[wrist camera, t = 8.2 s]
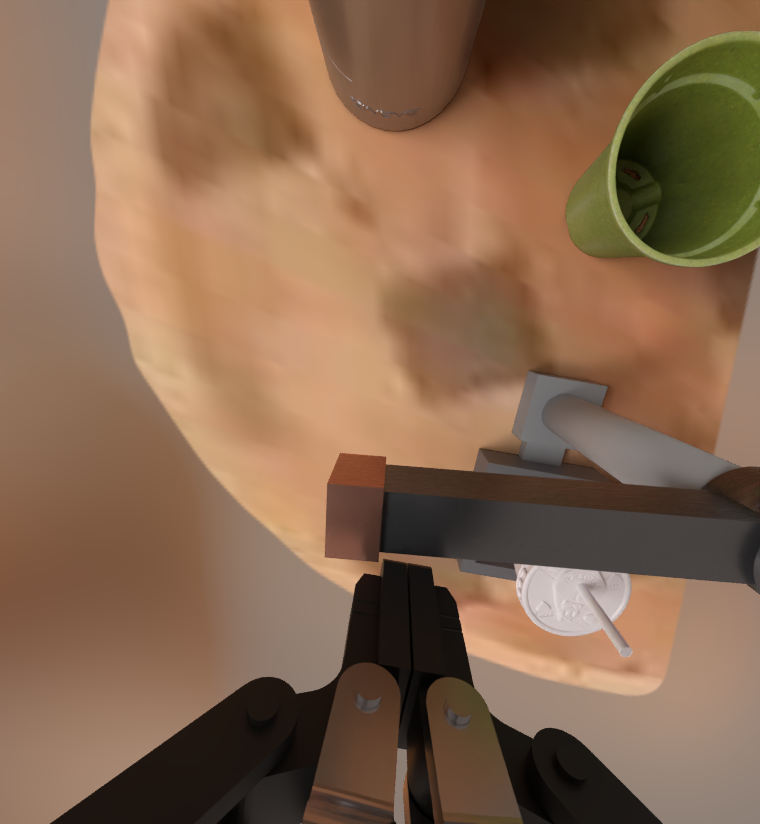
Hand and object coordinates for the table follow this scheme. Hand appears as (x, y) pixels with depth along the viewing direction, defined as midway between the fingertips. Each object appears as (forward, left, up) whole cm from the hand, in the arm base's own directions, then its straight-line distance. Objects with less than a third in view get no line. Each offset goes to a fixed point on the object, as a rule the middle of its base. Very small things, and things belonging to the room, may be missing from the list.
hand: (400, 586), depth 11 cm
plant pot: (-17, +12, -19) cm, 28 cm away
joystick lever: (-3, +5, -2) cm, 7 cm away
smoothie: (+6, +12, -19) cm, 23 cm away
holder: (+2, +12, -18) cm, 22 cm away
